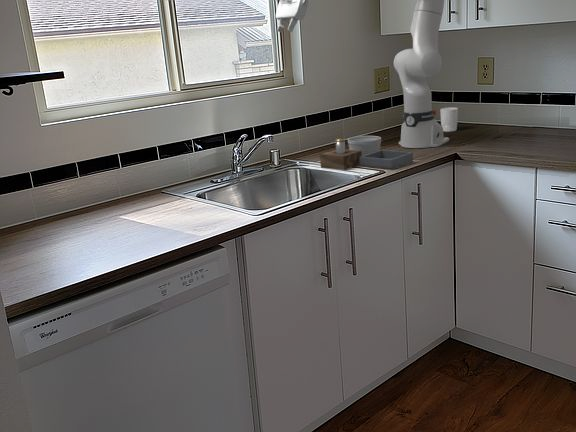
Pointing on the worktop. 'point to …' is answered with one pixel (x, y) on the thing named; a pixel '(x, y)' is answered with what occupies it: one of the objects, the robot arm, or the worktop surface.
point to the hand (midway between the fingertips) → (284, 31)
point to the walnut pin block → (340, 159)
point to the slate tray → (386, 159)
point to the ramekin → (365, 144)
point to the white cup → (449, 119)
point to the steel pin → (340, 146)
